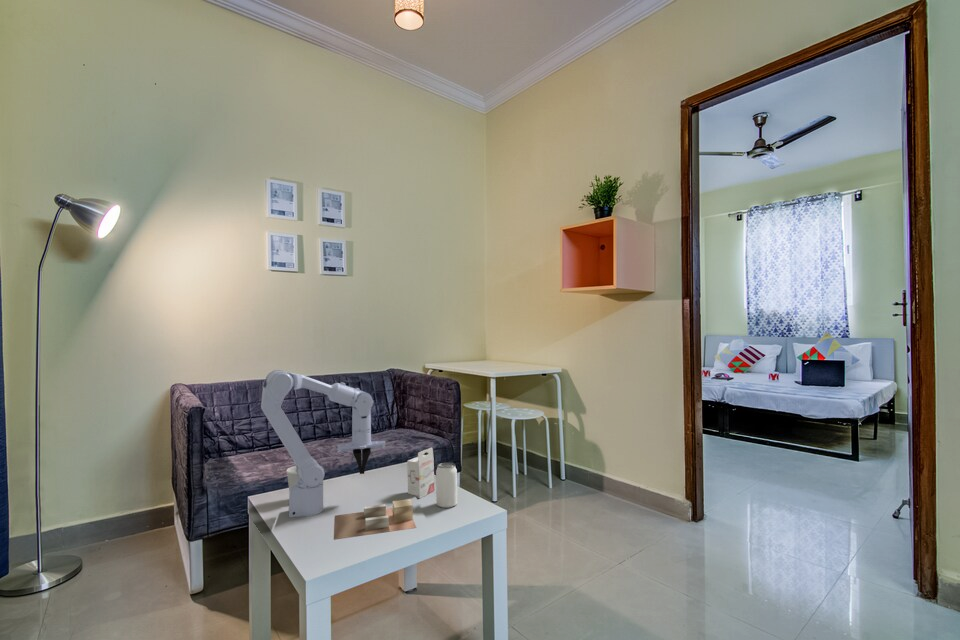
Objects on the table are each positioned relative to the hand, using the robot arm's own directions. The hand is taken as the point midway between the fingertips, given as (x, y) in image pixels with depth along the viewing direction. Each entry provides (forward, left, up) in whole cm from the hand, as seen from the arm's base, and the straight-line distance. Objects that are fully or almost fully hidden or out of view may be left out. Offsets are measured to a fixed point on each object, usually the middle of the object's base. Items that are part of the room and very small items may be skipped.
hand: (361, 472), depth 140 cm
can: (+25, -10, -10) cm, 29 cm away
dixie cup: (-19, +10, -10) cm, 24 cm away
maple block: (+10, -18, -8) cm, 22 cm away
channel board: (+3, -18, -9) cm, 20 cm away
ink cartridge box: (+19, +2, -10) cm, 21 cm away
